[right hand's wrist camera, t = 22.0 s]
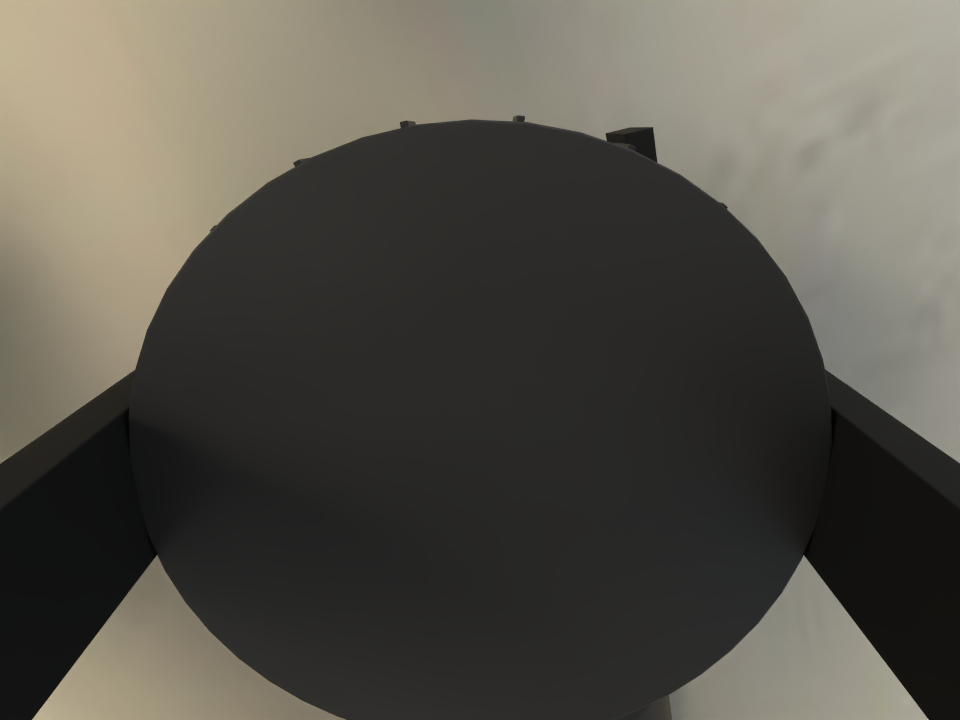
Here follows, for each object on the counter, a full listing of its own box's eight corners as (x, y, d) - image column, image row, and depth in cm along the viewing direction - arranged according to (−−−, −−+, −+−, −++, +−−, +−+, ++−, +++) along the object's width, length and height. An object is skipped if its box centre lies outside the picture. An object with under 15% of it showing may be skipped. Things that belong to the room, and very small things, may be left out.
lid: (199, 33, 9) (144, 14, 8) (901, 218, 10) (974, 234, 9) (150, 620, 13) (107, 684, 12) (667, 717, 14) (690, 789, 12)
